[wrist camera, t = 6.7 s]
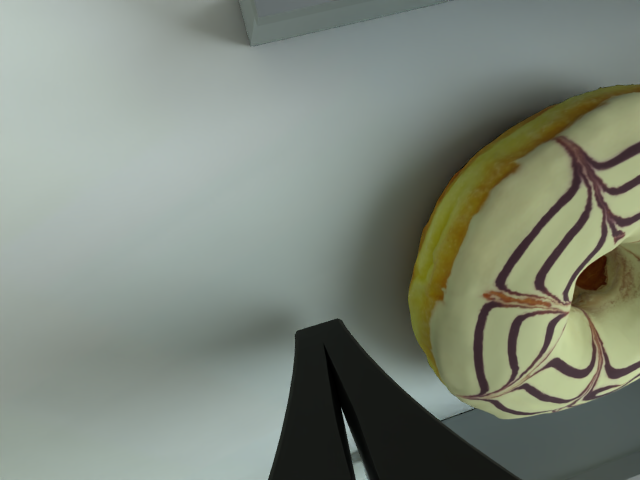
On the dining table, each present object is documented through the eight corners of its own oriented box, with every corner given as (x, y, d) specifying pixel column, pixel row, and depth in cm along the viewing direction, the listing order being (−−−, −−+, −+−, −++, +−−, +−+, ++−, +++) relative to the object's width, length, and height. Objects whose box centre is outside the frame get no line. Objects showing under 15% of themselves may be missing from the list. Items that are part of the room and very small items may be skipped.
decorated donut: (576, 349, 15) (670, 423, 12) (363, 362, 13) (405, 462, 9) (717, 113, 11) (923, 126, 8) (439, 58, 8) (569, 42, 5)
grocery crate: (677, 351, 17) (797, 425, 13) (362, 463, 15) (399, 582, 11) (893, -154, 8) (1404, -341, 5) (234, -14, 7) (221, -131, 3)
